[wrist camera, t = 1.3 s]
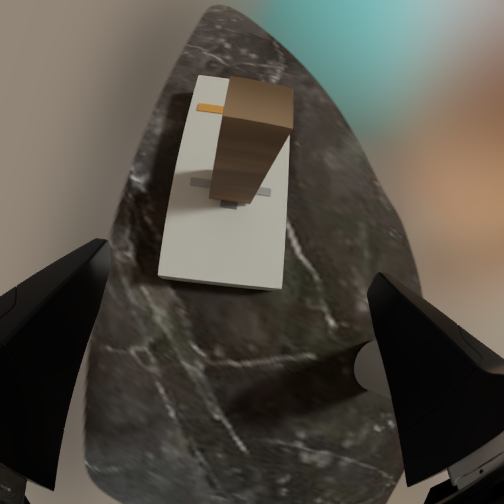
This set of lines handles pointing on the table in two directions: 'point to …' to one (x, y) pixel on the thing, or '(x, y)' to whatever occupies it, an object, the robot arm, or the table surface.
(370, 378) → the beverage can
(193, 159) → the fader console
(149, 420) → the table surface
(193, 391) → the table surface
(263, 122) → the lever
